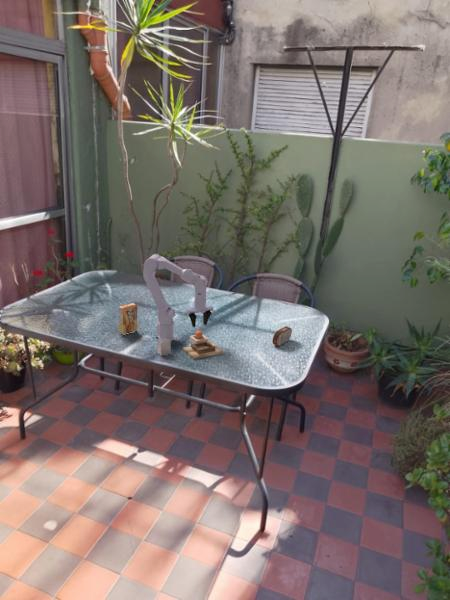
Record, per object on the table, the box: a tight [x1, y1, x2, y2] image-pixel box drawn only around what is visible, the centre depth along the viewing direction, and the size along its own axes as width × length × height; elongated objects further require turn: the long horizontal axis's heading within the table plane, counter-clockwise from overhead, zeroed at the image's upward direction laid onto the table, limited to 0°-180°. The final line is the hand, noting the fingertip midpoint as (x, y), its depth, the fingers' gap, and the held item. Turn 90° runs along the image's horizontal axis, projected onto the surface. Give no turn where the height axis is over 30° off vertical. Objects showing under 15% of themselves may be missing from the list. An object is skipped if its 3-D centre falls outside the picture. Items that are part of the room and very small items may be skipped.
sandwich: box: [272, 325, 293, 347], centre depth 233 cm, size 15×3×8 cm, turn 141°
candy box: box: [118, 302, 138, 334], centre depth 234 cm, size 9×4×15 cm, turn 137°
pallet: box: [182, 340, 224, 361], centre depth 220 cm, size 12×16×3 cm
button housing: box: [189, 334, 209, 344], centre depth 229 cm, size 7×7×3 cm
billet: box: [157, 338, 172, 357], centre depth 215 cm, size 4×5×7 cm
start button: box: [194, 330, 204, 340], centre depth 228 cm, size 4×4×4 cm
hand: (199, 325), depth 227 cm, fingers open, 6 cm apart
